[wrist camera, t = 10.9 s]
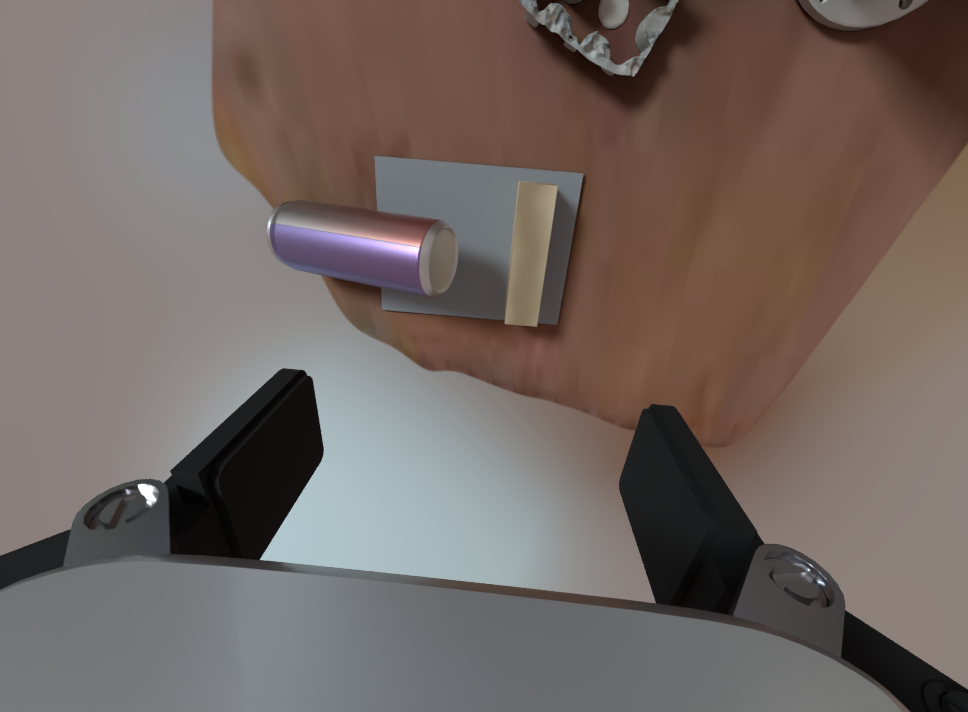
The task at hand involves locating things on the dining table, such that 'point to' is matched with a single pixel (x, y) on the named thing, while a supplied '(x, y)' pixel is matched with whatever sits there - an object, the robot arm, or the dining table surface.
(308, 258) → the beverage can
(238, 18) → the dining table surface
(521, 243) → the block
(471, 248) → the mat
